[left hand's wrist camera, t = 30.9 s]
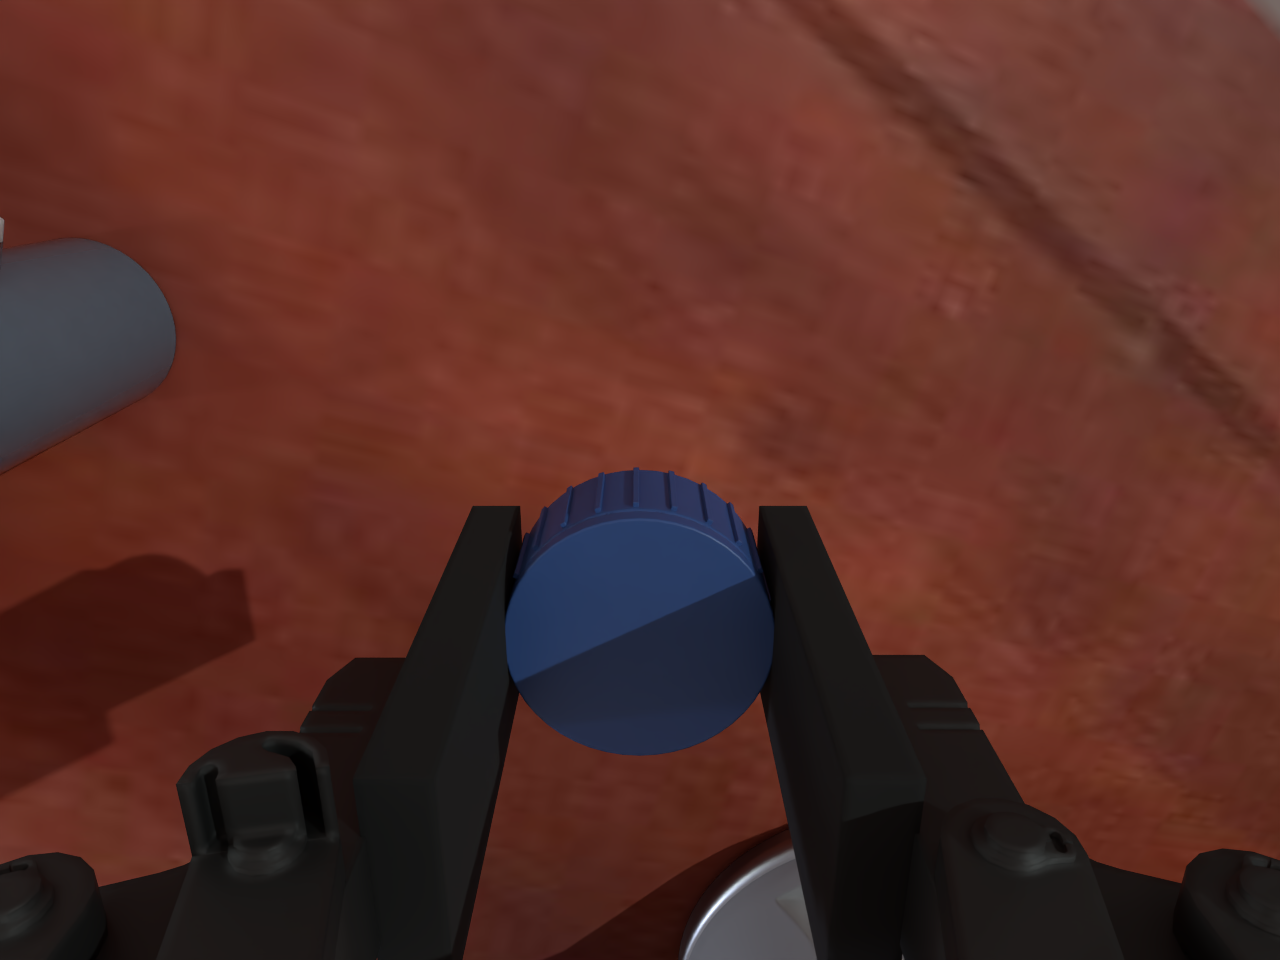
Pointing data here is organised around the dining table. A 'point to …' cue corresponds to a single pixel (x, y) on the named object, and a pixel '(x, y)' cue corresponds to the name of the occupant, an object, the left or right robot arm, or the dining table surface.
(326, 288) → the dining table surface
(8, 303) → the bottle
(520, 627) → the cap
